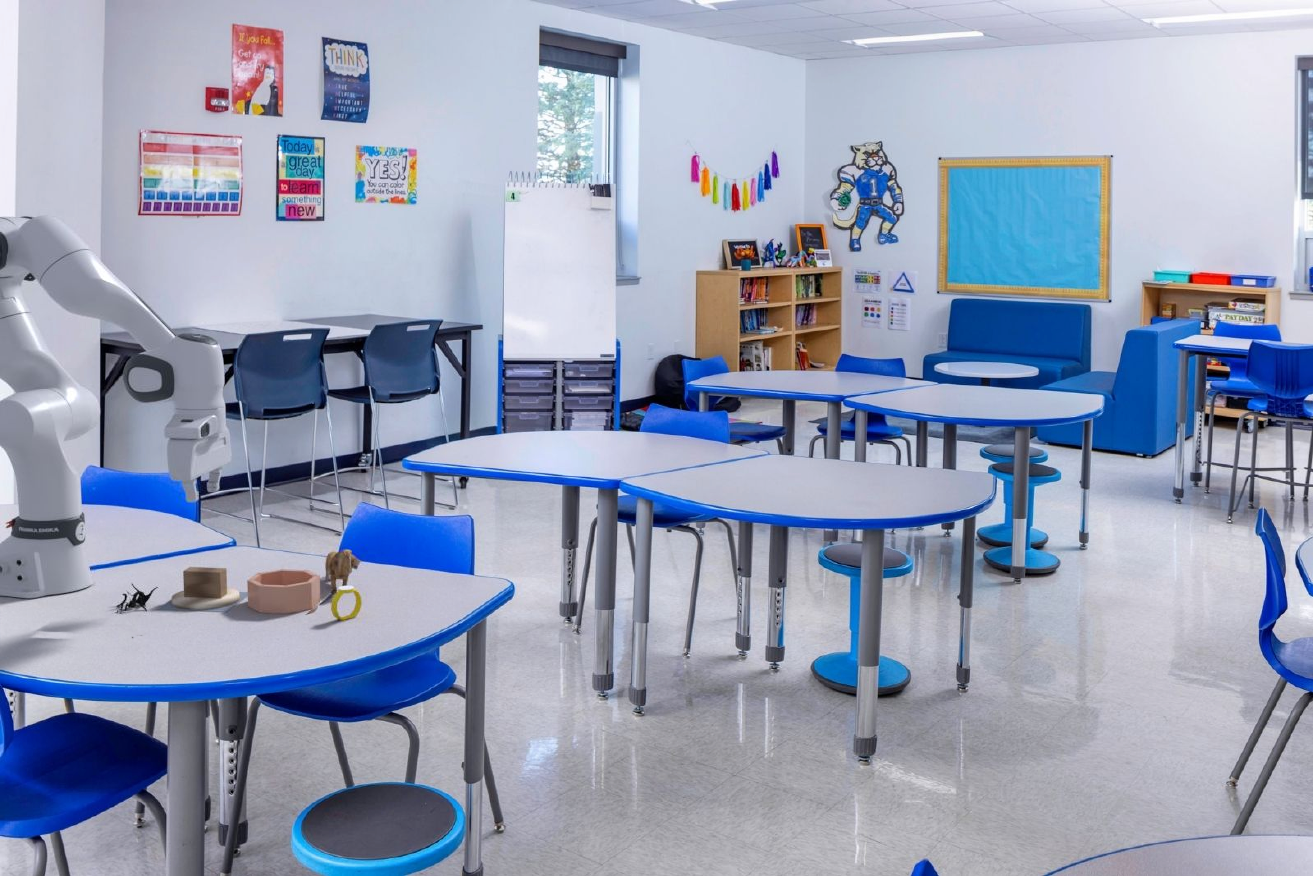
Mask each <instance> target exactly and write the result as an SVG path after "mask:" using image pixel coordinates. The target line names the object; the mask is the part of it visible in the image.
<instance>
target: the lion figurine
mask: <svg viewBox="0 0 1313 876" xmlns="http://www.w3.org/2000/svg"><path fill="white" fill-rule="evenodd" d="M352 552H353V551H352V550H350V549H341V550H340V551H336V550H335V551H334V550H333V551H330V552H329V553H327V556H326V558H325V579H324V580H325V581H330V586H331V587H330V588H332V590H331V591H330V594H333V595H335V594H336V593H337V592H338V588H337V583H336V582H337V580H340V581H341V580H342V583H341V584H342V585H341V586H348V582H349V576H350V575H351V574H352V573H353V569H354V570H358V567H359V566H360V564H361V562H362V561H361V560H360V559H358V558H357V557H356V556H355V555H354V554H352Z"/></svg>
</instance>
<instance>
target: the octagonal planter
mask: <svg viewBox="0 0 1313 876" xmlns="http://www.w3.org/2000/svg"><path fill="white" fill-rule="evenodd" d="M246 582H247V584H246V585H247V592H248V597H247V607H248V608H249V609H250V608H251V609H253V611H256V612H259V613H263V614H264V613H265V614H275V615H276V614H279V615H280V614H284V615H285V614H292V613H299V612H304V611H308V610H309V611H308V612H307V613H306V614H305V616H307V615H309V614H313V613H314V612H316V611H317V610H318V604H319V603H320V602H321V576H320V574H317V573H315V572H313V571H310V570H308V569H286V568H281V569H275V570H274V569H273V570H269V571H262V572H257V573H255V574H254V575H252V576H251V577H249V579H247V581H246Z"/></svg>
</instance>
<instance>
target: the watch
mask: <svg viewBox="0 0 1313 876" xmlns="http://www.w3.org/2000/svg"><path fill="white" fill-rule="evenodd" d="M350 593H353V594H354V597H355V605H354V609H353V610H352V611H351V613H350V614H347V615H343V616H340V614H339V611H338V602H339V601H340V599H341V597H342V596H343V595H344V594H350ZM333 595H334V596H333V598H332V600H331V605H330V609H331V613H332V615H333V616H334V617H335V618H336V619H337V620H339V621H346V620H349V619H353V618H356V617H357V615H359V613H360V611H361V608H362V604H363V601H362V595H361V594H360V592H359V591H358V590H356V589H355V587H354V586H353V585H347V586H342V585H341V586H338V588H337V593H335V594H333Z"/></svg>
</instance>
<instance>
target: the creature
mask: <svg viewBox="0 0 1313 876" xmlns="http://www.w3.org/2000/svg"><path fill="white" fill-rule="evenodd" d="M131 586H132V587H133V588H134V590H136V592H134V593H133V594H131V593H130V592H129V591H126V592H127V593H122V596H124V599H123V600H122V602H120V603H119V604H117V605H116V606H115V607H120V608H119V609H117V610H116V614H118V612H119V611H120V612H119V614H120V615H121V614H122V612H127V610H128V608H132V609H135V608H136V606H137V605H139V606H141V608H142V609H143V610H145V612H148V609H147V607H146V604H147V602H148V601H149V600H150V598H151V596H152V594H153V593H154V591H155V590H156V589H158V588H159V586H156V587H154V588H153V589H152V590H151V591H150V592H149V593H148V594H145V592H144V591H141V590H140V589H138V588H136V587H135V585H134V584H133V582H131ZM128 596H131V597H132V598H130V597H129V602H127V599H128ZM124 604H125V606H124ZM123 608H124V609H123Z"/></svg>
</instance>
